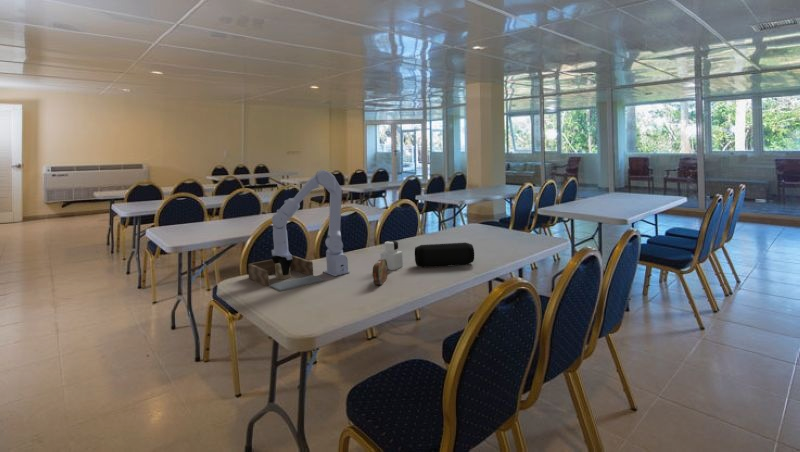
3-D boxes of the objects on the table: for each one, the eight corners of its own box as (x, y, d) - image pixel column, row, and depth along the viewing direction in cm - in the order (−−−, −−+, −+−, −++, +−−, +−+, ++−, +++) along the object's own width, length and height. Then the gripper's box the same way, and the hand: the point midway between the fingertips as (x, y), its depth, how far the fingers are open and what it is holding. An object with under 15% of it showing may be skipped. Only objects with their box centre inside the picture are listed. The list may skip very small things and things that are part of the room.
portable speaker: (468, 261, 203) (468, 240, 201) (475, 266, 193) (475, 244, 191) (414, 264, 199) (414, 243, 198) (418, 270, 190) (418, 247, 188)
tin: (379, 287, 166) (379, 266, 165) (371, 287, 167) (371, 266, 165) (388, 276, 181) (388, 256, 179) (381, 276, 181) (380, 256, 180)
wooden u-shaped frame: (313, 275, 185) (312, 261, 184) (266, 286, 171) (265, 271, 170) (294, 268, 197) (293, 255, 196) (248, 277, 184) (247, 263, 183)
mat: (323, 280, 177) (323, 279, 177) (280, 291, 164) (280, 289, 164) (312, 276, 183) (312, 275, 183) (269, 286, 171) (269, 284, 171)
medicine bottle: (390, 264, 199) (389, 239, 197) (403, 266, 195) (402, 240, 193) (380, 268, 194) (379, 242, 192) (393, 270, 190) (393, 243, 188)
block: (290, 277, 183) (289, 263, 182) (280, 279, 180) (279, 265, 179) (285, 275, 186) (284, 261, 185) (275, 277, 183) (274, 263, 182)
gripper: (264, 240, 183) (266, 272, 185) (279, 245, 172) (282, 279, 175) (279, 238, 188) (281, 269, 190) (295, 243, 177) (298, 275, 179)
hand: (283, 273), depth 182 cm, fingers closed on block, 4 cm apart
